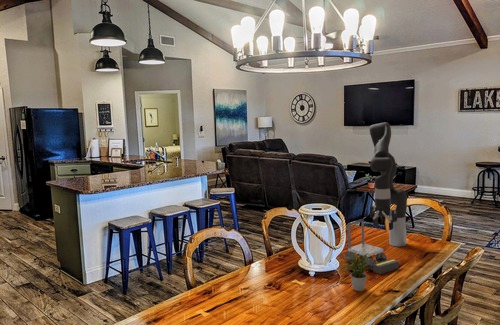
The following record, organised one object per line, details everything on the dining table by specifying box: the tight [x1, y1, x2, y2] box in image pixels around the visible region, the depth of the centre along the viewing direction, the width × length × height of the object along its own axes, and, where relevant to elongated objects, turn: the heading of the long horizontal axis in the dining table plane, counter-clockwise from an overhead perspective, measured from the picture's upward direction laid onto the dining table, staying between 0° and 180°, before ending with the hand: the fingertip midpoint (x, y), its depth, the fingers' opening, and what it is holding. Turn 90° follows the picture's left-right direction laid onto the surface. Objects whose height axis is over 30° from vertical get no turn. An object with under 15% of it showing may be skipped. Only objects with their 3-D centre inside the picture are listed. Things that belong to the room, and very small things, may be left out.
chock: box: [372, 258, 400, 275], centre depth 193 cm, size 13×4×4 cm, turn 118°
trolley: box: [344, 218, 388, 270], centre depth 202 cm, size 18×12×22 cm, turn 35°
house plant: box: [340, 252, 369, 292], centre depth 174 cm, size 14×14×16 cm
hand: (383, 228), depth 196 cm, fingers open, 8 cm apart
